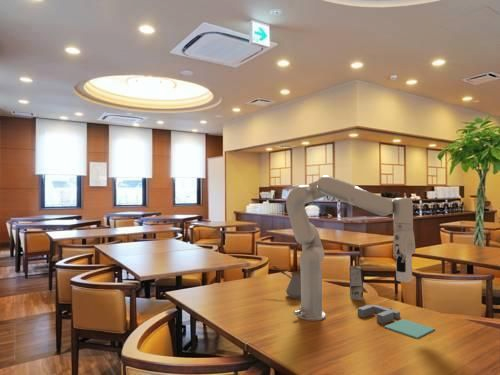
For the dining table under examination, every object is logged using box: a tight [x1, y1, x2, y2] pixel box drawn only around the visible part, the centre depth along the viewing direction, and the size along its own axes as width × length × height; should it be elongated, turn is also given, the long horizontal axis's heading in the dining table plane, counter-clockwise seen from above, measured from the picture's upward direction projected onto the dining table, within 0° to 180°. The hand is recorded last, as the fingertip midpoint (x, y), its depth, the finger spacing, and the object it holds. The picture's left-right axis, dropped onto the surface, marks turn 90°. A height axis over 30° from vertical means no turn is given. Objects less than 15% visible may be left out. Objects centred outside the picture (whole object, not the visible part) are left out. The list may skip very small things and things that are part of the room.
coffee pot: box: [271, 265, 301, 300], centre depth 194 cm, size 21×12×15 cm, turn 55°
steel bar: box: [395, 253, 413, 284], centre depth 149 cm, size 4×4×12 cm
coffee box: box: [349, 265, 364, 301], centre depth 190 cm, size 9×6×16 cm
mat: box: [383, 318, 436, 340], centre depth 147 cm, size 14×14×1 cm
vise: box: [357, 304, 401, 325], centre depth 162 cm, size 16×13×4 cm
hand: (404, 270), depth 149 cm, fingers closed on steel bar, 4 cm apart
